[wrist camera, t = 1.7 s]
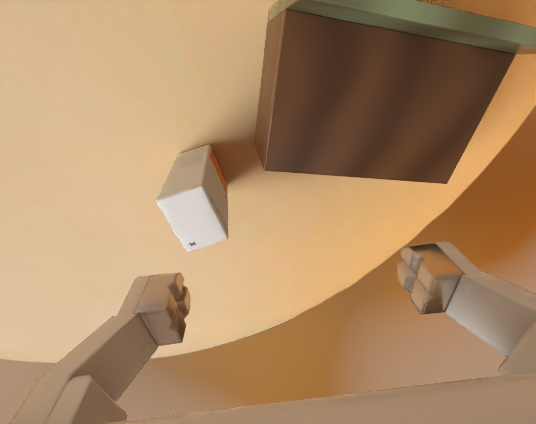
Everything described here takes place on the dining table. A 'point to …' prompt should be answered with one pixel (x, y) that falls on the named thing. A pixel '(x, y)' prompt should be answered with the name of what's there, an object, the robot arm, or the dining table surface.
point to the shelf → (378, 86)
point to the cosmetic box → (196, 199)
